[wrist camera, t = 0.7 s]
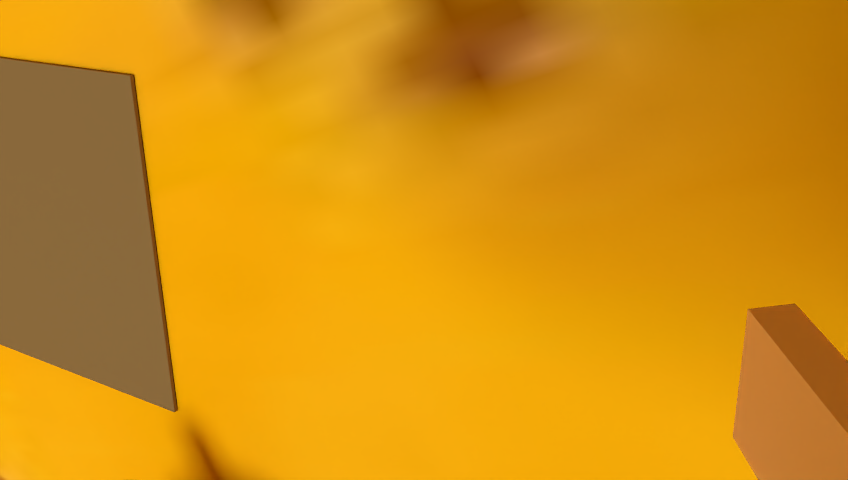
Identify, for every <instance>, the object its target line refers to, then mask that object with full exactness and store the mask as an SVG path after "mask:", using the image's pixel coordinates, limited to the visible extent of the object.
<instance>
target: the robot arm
mask: <svg viewBox="0 0 848 480" xmlns="http://www.w3.org/2000/svg"><path fill="white" fill-rule="evenodd" d="M733 438H734V440H735V441H736V443H737V445H738V446H739V448H740V450H741V451H742V453H743V455H744V456H745V458H746V460H747V461H748V463H749V465H750V466H751V468H752V470H753V471H754V473H755V475H756V476H757V478H758V480H848V361H847V360H846V359H845V358H844V357H843V356H842V355H841V354H840V352H839V351H838V350H837V349H836V348H835V347H834V346H833V345H832V344H831V343H830V341H829V340H828V339H827V338H826V337H825V336H824V335H823V334H822V333H821V332H820V331H819V329H818V328H817V327H816V326H815V325H814V324H813V323H812V322H811V321H810V320H809V318H808V317H807V316H806V315H805V314H804V313H803V312H802V311H801V310H800V309H799V307H798V306H797V305H796V304H787V305H779V306H770V307H761V308H753V309H748V314H747V322H746V331H745V339H744V347H743V356H742V364H741V373H740V381H739V389H738V398H737V406H736V415H735V423H734V431H733Z"/></svg>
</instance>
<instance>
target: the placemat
mask: <svg viewBox="0 0 848 480" xmlns="http://www.w3.org/2000/svg"><path fill="white" fill-rule="evenodd" d="M0 344H1V345H3V346H6V347H8V348H11V349H14V350H16V351H19V352H21V353H24V354H26V355H29V356H32V357H34V358H37V359H39V360H42V361H44V362H47V363H50V364H52V365H55V366H57V367H60V368H62V369H65V370H68V371H70V372H73V373H75V374H78V375H80V376H83V377H86V378H88V379H91V380H93V381H96V382H98V383H101V384H104V385H106V386H109V387H111V388H114V389H116V390H119V391H121V392H124V393H127V394H129V395H132V396H134V397H137V398H139V399H142V400H145V401H147V402H150V403H152V404H155V405H157V406H160V407H163V408H165V409H168V410H170V411H173V412H176V411H177V404H176V396H175V388H174V381H173V373H172V365H171V358H170V350H169V343H168V335H167V327H166V320H165V312H164V304H163V297H162V289H161V282H160V274H159V266H158V259H157V251H156V243H155V236H154V228H153V221H152V213H151V205H150V198H149V190H148V182H147V175H146V167H145V160H144V152H143V144H142V137H141V129H140V121H139V114H138V106H137V99H136V91H135V83H134V76H133V75H129V74H122V73H115V72H107V71H100V70H92V69H85V68H77V67H70V66H62V65H55V64H47V63H40V62H32V61H25V60H18V59H10V58H3V57H0Z"/></svg>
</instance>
